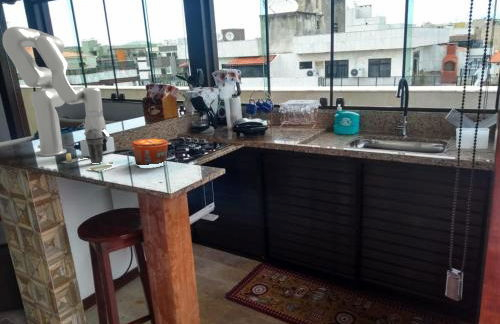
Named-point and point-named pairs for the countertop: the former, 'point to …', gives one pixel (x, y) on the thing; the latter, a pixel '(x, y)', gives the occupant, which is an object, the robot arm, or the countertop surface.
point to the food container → (150, 151)
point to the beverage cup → (95, 144)
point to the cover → (109, 149)
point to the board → (101, 166)
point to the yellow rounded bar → (69, 160)
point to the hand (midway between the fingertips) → (98, 150)
